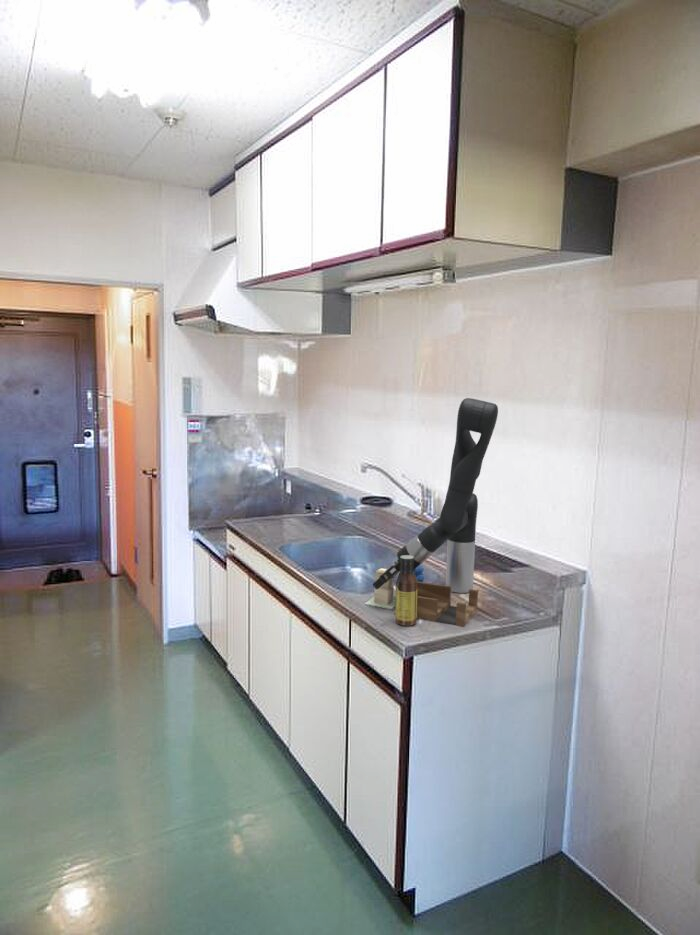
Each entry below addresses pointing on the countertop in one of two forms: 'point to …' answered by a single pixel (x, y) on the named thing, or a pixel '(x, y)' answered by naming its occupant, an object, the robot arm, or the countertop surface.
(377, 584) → the robot arm
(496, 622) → the countertop surface
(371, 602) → the mat
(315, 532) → the countertop surface
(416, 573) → the grapes
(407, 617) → the sauce bottle
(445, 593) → the wooden holder
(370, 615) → the countertop surface
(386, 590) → the block
